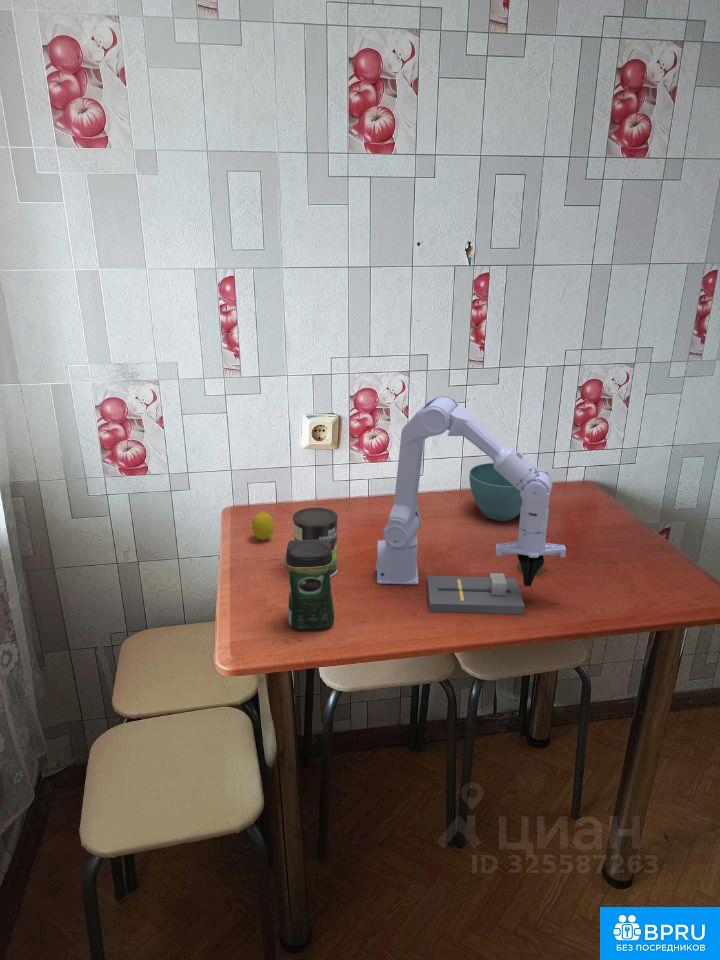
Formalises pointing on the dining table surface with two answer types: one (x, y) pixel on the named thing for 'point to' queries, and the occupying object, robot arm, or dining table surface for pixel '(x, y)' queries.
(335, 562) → the coffee can
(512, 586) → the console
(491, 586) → the fader
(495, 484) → the teal bowl
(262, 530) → the lemon
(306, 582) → the coffee jar
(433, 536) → the dining table surface
